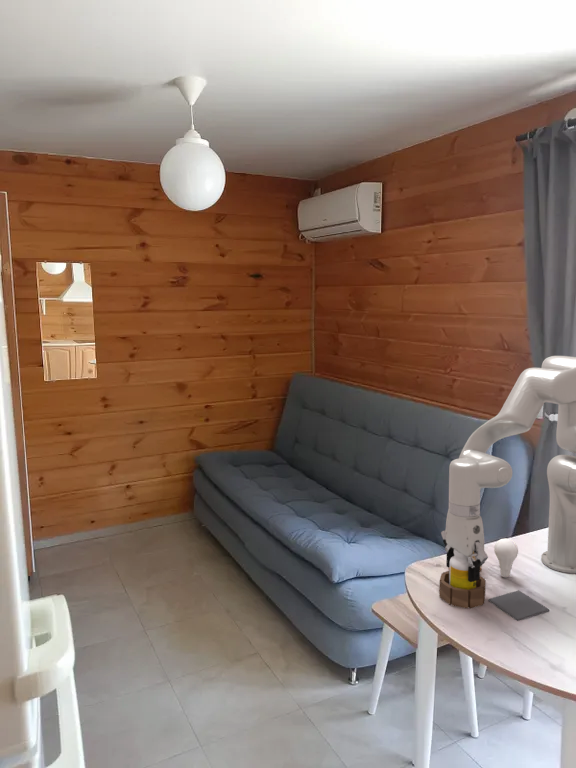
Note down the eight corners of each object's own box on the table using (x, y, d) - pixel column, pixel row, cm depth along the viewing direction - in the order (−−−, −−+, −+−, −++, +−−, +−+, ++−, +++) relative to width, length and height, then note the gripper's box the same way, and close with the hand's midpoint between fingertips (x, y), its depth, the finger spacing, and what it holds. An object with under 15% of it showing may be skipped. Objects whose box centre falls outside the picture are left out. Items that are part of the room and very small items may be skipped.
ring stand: (465, 582, 156) (465, 566, 155) (494, 601, 146) (494, 585, 145) (431, 591, 152) (431, 575, 151) (458, 611, 142) (459, 594, 141)
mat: (518, 592, 150) (518, 590, 150) (549, 611, 141) (549, 609, 141) (488, 600, 147) (488, 598, 146) (517, 620, 137) (517, 618, 137)
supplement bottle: (477, 604, 145) (478, 556, 143) (449, 602, 146) (450, 554, 144) (474, 590, 152) (475, 544, 149) (448, 588, 153) (448, 543, 151)
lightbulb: (517, 574, 159) (519, 536, 158) (516, 584, 154) (517, 545, 152) (494, 570, 162) (495, 533, 160) (492, 580, 157) (493, 542, 155)
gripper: (500, 517, 139) (498, 585, 141) (453, 494, 155) (452, 556, 157) (475, 522, 136) (473, 592, 139) (430, 499, 152) (429, 562, 154)
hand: (462, 572), depth 148 cm, fingers open, 7 cm apart
